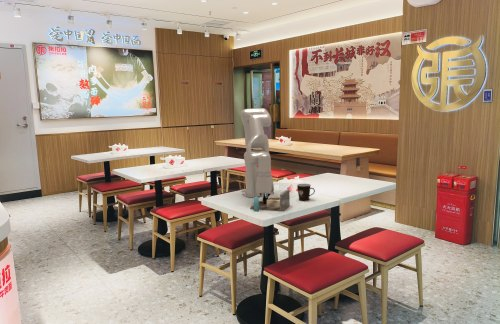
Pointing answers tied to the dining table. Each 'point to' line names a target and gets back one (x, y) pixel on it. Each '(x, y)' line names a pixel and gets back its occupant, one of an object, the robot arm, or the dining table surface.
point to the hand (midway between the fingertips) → (265, 203)
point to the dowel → (256, 203)
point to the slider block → (273, 202)
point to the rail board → (283, 203)
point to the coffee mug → (304, 191)
